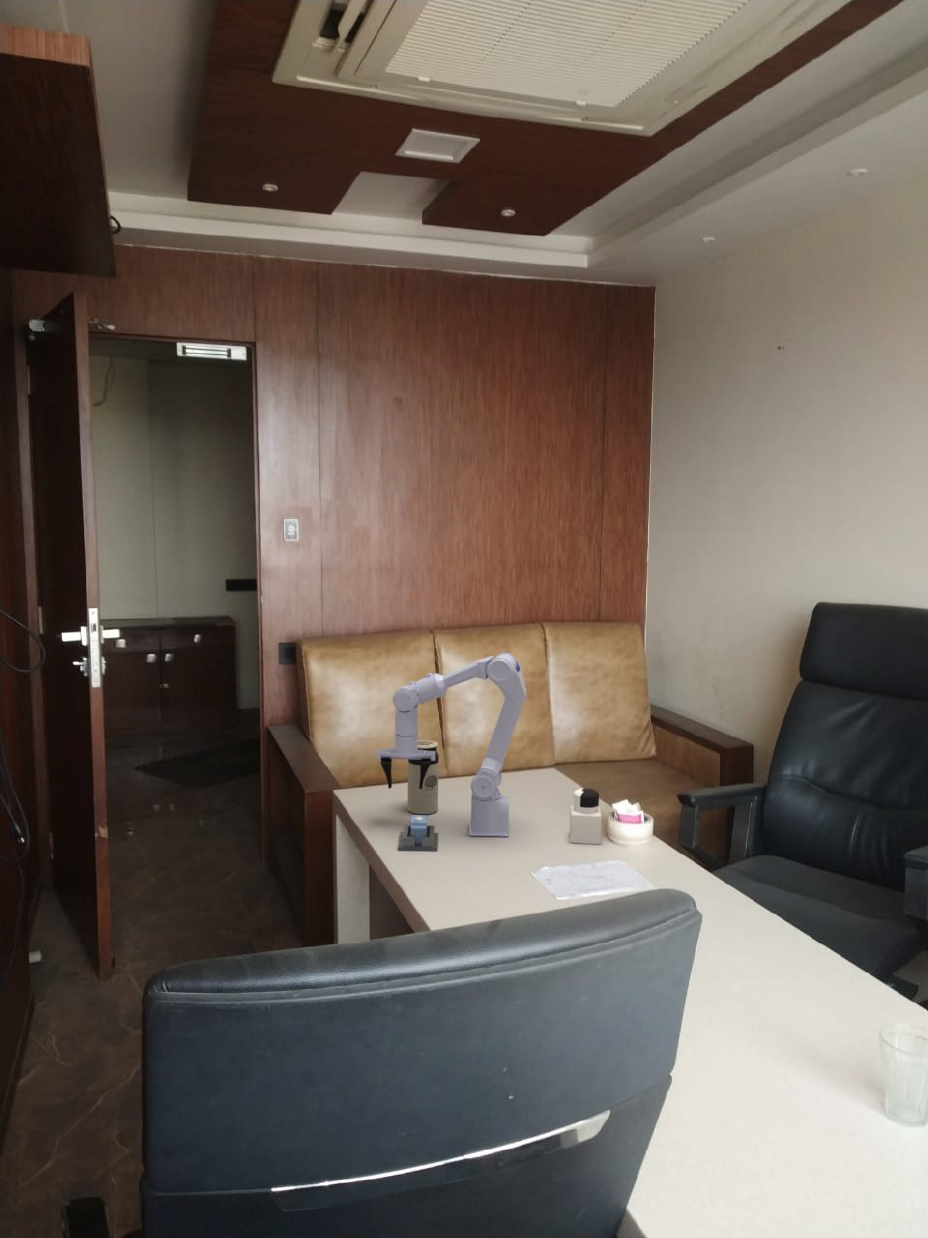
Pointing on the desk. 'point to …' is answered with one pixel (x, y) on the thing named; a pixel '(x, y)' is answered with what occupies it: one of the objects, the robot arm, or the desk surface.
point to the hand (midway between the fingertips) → (405, 787)
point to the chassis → (426, 842)
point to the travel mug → (428, 795)
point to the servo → (418, 827)
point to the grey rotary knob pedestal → (585, 817)
